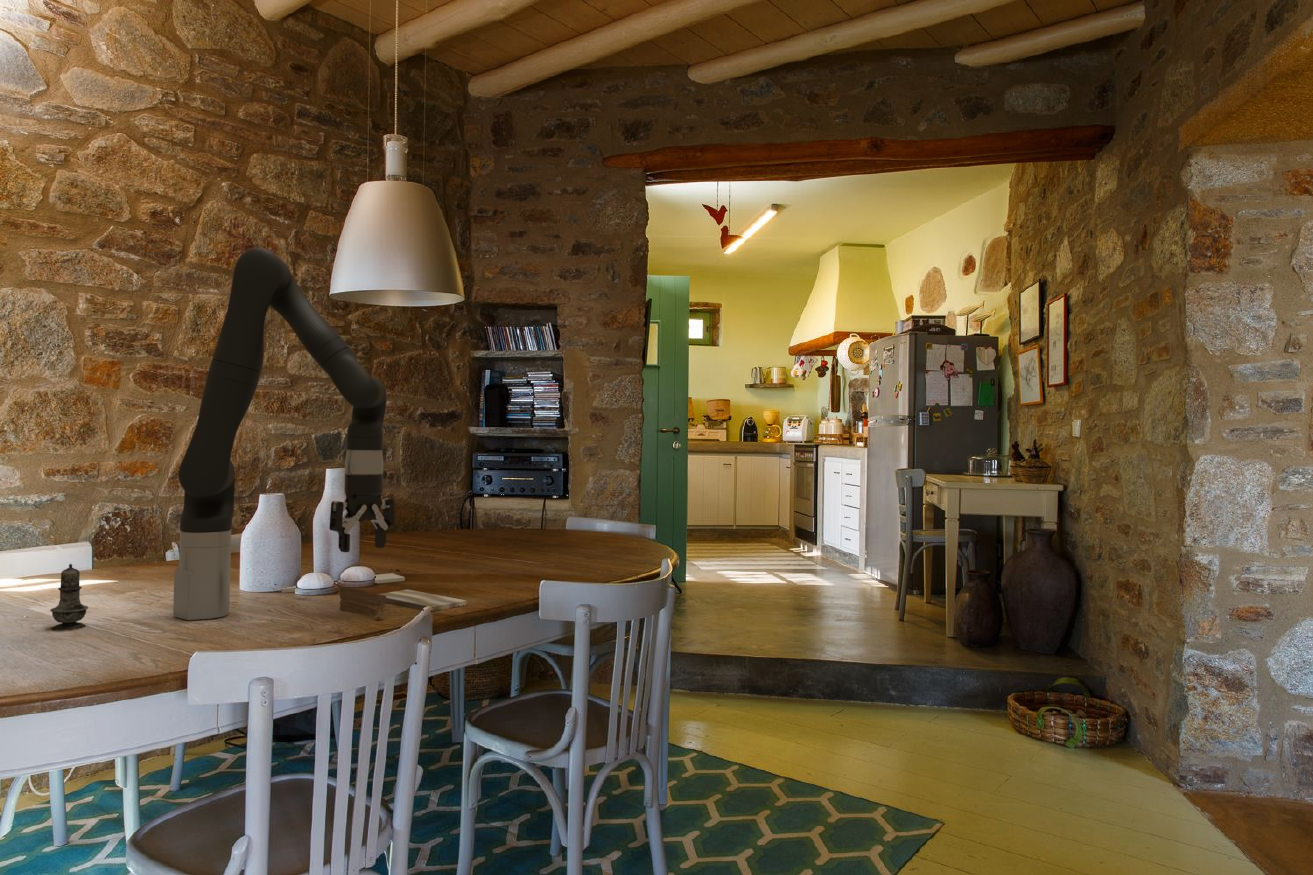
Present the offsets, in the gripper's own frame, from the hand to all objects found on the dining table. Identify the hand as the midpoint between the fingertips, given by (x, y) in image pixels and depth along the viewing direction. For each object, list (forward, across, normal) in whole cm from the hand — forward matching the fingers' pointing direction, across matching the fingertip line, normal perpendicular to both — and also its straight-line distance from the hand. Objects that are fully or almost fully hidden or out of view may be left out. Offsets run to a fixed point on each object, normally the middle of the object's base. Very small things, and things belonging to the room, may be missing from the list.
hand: (362, 549), depth 178 cm
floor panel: (+14, -16, -1) cm, 21 cm away
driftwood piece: (+14, 0, 0) cm, 14 cm away
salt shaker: (+14, +42, -30) cm, 53 cm away
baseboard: (+14, -19, -34) cm, 41 cm away
